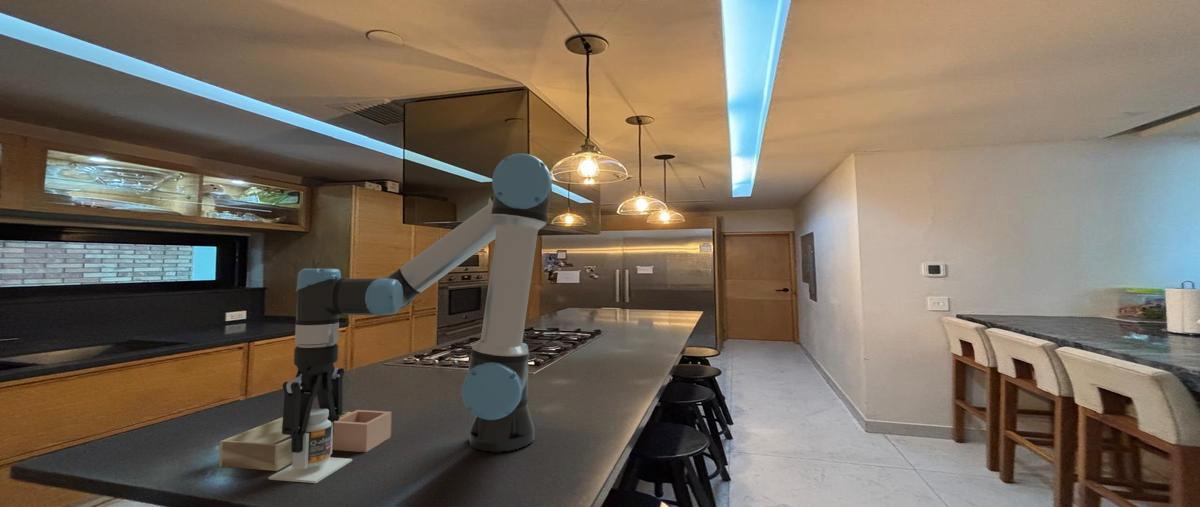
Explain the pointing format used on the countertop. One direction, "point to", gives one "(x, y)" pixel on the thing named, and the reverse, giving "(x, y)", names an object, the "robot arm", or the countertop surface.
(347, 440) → the pink open box
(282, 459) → the oak crate
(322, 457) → the pill bottle
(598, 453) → the countertop surface
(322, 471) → the square cream tile
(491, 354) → the robot arm
